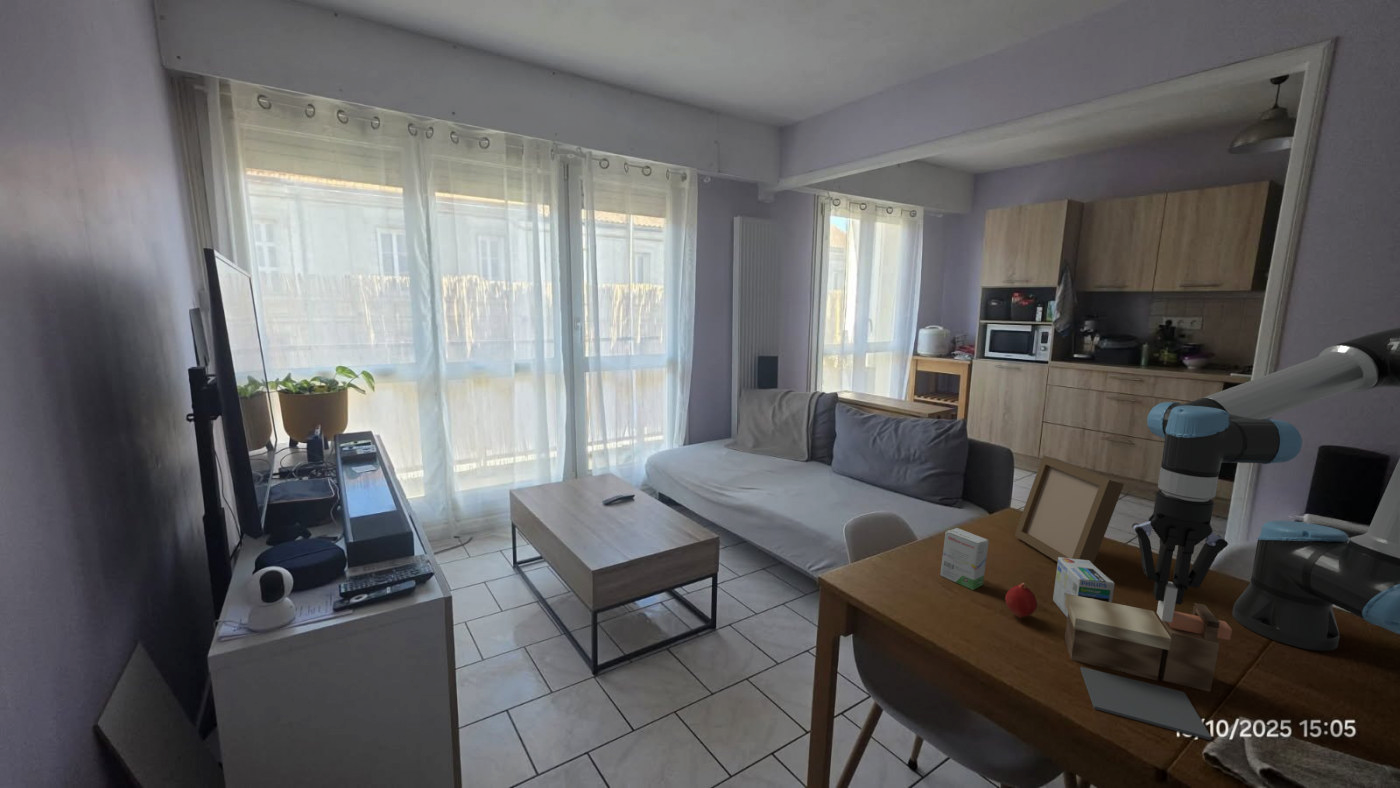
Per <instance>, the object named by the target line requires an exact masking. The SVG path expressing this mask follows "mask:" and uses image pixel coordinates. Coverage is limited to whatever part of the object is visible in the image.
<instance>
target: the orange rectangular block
mask: <svg viewBox="0 0 1400 788" xmlns="http://www.w3.org/2000/svg"><path fill="white" fill-rule="evenodd" d="M1217 620H1218V621H1219V622H1220V623H1219V628H1218V634H1217V639H1218V638H1219V639H1222V640H1227V641H1231V637H1232V633H1233V629H1232V628H1231V626H1230V625H1229V624H1228V623H1227V622H1226V621H1225V620H1221V619H1217ZM1168 624H1169V625H1170V627H1171V628H1174V629H1179V630H1183V631H1188V632H1193V633H1198V634H1203V628H1204V622H1203V620H1202V619H1201V618H1200V617H1199V616H1196V615H1192V614H1189V613H1185V612H1180V611H1175V610H1174V614H1173V620H1172V622H1168Z"/></svg>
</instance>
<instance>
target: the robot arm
mask: <svg viewBox="0 0 1400 788" xmlns="http://www.w3.org/2000/svg"><path fill="white" fill-rule="evenodd" d="M1385 387H1387V388H1389V387H1390V388H1400V326H1399V327H1394V328H1391V329H1390V328H1389V329H1385V330H1381V331H1377V332H1373V333H1370V334H1365V335H1362V336H1359V337H1355V338H1352V339H1349V340H1347V341H1342V342H1340V343H1338V344H1335V345H1331V346H1329V347H1326V348H1324V349H1323V350H1322V351H1320V353H1319V354H1318V356H1317V357H1313V358H1311V359H1308V360H1306V361H1303V362H1300V363H1297V364H1295V365H1291V366H1289V367H1286V368H1283V369H1280V370H1277V371H1275V372H1272V373H1269V374H1266V375H1263V376H1261V377H1257V378H1255V379H1252V380H1249V381H1247V382H1243V383H1240V384H1237V385H1236V386H1232V387H1228V388H1227V389H1224V390H1221V391H1217V392H1216V393H1213V394H1209V395H1207V396H1203V397H1201V398H1197V399H1195V400H1192V401H1189V402H1186V403H1181V402H1176V401H1174V402H1172V401H1163V402H1160V403H1158V404H1156V405H1155V406H1153V407H1152V409H1150V411H1149V413H1148V415H1147V419H1146V421H1147V422H1146V423H1147V427H1148V429H1149V431H1150V432H1151V433H1152V434H1153V435H1154V436H1157V437H1159V438H1161V439H1163V440H1164V442H1163V449H1162V450H1163V451H1162V457H1161V464H1160V465H1161V466H1160V470H1159V477H1158V481H1157V488H1158V489H1159V490H1158V491H1156V495H1155V500H1154V506H1153V507H1154V508H1153V513H1152V515H1151V516H1150V517H1149V518H1148V521H1145V522H1143V523H1137V522H1135V523H1132V525H1131V527H1132V529H1133V531H1134V532H1135V534H1136V535H1137V539H1138V546H1139V553H1140V557H1141V559H1140V560H1141V565H1142V571H1143V574H1144V575H1145V577H1146V578H1147V579H1148V580H1150V581H1154V585H1153V590H1152V591H1153V592H1152V595H1153V597H1154V598H1155V600H1156V601H1158V603H1157V608H1156V609H1157V610H1156V614H1157V617H1159V619H1161V620H1162V621H1167V622H1172V620H1173V614H1174V611H1175V607H1176V605H1182V604H1183V601H1184V595H1185V592H1186V591H1188V590H1189V588H1194V589H1198V588H1200V587H1201V585H1202V583H1203V582H1204V580H1205V578H1206V576H1207V574H1208V572H1209V570H1210V568H1211V567H1212V565H1213V564H1214V561H1215V560H1216V558H1217V556H1218V554H1219V553H1220V552H1222V551H1223V550H1224V549H1226V547H1228V545H1229V543H1228V541H1227V540H1225V539H1224V538H1223V537H1222V536H1221V535H1219V534H1216V533H1215V532H1213V527H1212V526H1211V520H1212V515H1213V510H1214V505H1215V502H1214V500H1212V499H1215V498H1216V495H1217V487H1218V483H1219V482H1218V481H1219V475H1220V471H1221V467H1222V463H1223V464H1225V463H1227V464H1229V463H1230V464H1233V463H1234V464H1235V463H1237V464H1261V465H1269V464H1280V463H1287V462H1289V461H1291V460H1294V459H1295V458H1296V457H1298V455H1299V453H1300V452H1301V450H1302V448H1303V447H1302V446H1303V438H1302V434H1301V432H1300V431H1299V430H1298V429H1297V427H1296V426H1294V425H1293V424H1291V423H1290V422H1287V421H1284V420H1280V419H1270V418H1271V417H1275V416H1278V415H1281V414H1283V413H1286V412H1289V411H1291V410H1295V409H1297V408H1300V407H1303V406H1307V405H1310V404H1313V403H1315V402H1318V401H1321V400H1323V399H1328V398H1330V397H1332V396H1336V395H1339V394H1342V393H1344V392H1348V393H1361V392H1364V391H1368V390H1370V389H1374V388H1385ZM1393 470H1394V471H1393V472H1392V475H1391V477H1390V478H1389V482H1388V484H1387V487H1386V488H1385V491H1384V493H1383V495H1382V497H1381V499H1380V501H1379V504H1378V506H1377V509H1376V511H1375V513H1374V516H1373V518H1372V520H1371V523H1370V525H1369V527H1368V529H1367V532H1365V533H1363V534H1359V535H1355V536H1352V537H1350V538H1349V535H1348V534H1347V533H1346V532H1345V531H1343V530H1340V529H1337V528H1334V527H1329V526H1326V525H1321V524H1315V523H1309V522H1300V521H1294V520H1293V521H1291V520H1270V521H1267V522H1265V523H1264V524H1262V526H1261V529H1260V532H1259V536H1258V537H1257V543H1256V548H1255V553H1254V561H1253V566H1252V571H1251V578H1250V582H1249V584H1248V586H1247V587H1246V588H1245V589H1244V591H1243V592H1242V593H1241V594H1240V596H1239V597H1238V598H1237V599H1236V601H1235V602H1234V603H1233V607H1232V612H1231V615H1232V617H1233V618H1234V620H1236V621H1237V622H1238V623H1239V624H1240V625H1242V626H1244V627H1245V628H1246V629H1248V630H1250V631H1252V632H1254V633H1256V634H1258V635H1260V636H1263V637H1265V638H1267V639H1270V640H1273V641H1275V642H1279V643H1282V644H1285V645H1288V646H1290V647H1291V646H1292V647H1296V648H1300V649H1304V650H1309V651H1318V652H1331V651H1334V650H1337V649H1338V646H1339V642H1340V632H1339V627H1338V624H1337V620H1336V616H1335V612H1334V608H1333V605H1334V606H1336V607H1338V608H1340V609H1341V610H1342V609H1343V610H1344V611H1346V612H1349V613H1350V614H1353V615H1355V616H1357V617H1359V618H1361V619H1363V620H1364V621H1366V622H1368V623H1369V624H1371V625H1374V626H1378V627H1381V628H1383V629H1386V630H1388V631H1390V632H1392V633H1395V634H1398V635H1400V458H1399V459H1398V462H1397V463H1396V466H1395V468H1394V469H1393ZM1152 529H1153V531H1154V532H1155V534H1156V535H1157V537H1158V538H1159V550H1158V555H1157V562H1156V567H1155V564H1154V558H1153V551H1152V545H1151V540H1150V538H1149V537H1150V536H1151V535H1152ZM1203 541H1205V543H1203V546H1202V547H1201V549H1200V551H1199V553H1198V554H1197V557H1196V559H1195V560H1194V561H1193V564H1192V566H1191V562H1192V556H1193V554H1194V552H1195V546H1197V545H1198V544H1199V543H1201V542H1203ZM1176 546H1177V552H1176V558H1175V563H1174V570H1173V577H1172V581H1173V582H1172V581H1169V579H1170V574H1171V569H1172V567H1171V566H1172V562H1173V561H1172V560H1173V555H1174V552H1175V550H1176Z"/></svg>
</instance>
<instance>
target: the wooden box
mask: <svg viewBox="0 0 1400 788" xmlns="http://www.w3.org/2000/svg"><path fill="white" fill-rule="evenodd" d="M1193 603H1194V604H1193V607H1192V608H1193V609H1192V614H1191V615H1196V616H1199V617H1200V618H1201V619H1202V620H1203V622H1204V628H1203V634H1198V633H1193V632H1188V631H1183V630H1179V629H1174V628H1171V627H1170V625H1169V624H1168V622H1167V621H1162V620H1161V619H1160V618H1158V619H1159V620H1160V622H1161V624H1162V625H1163V627H1164V628H1165V630H1166V631H1167V633H1168V634H1169V636H1170V637H1171V645H1170V650H1166V649H1162V648H1157V647H1153V646H1148V645H1144V644H1139V643H1135V642H1130V641H1126V640H1121V639H1117V638H1112V637H1108V636H1103V635H1099V634H1095V633H1090V632H1086V631H1081V630H1077V629H1074V627H1073V624H1072V622H1071V619H1070V616H1069V614H1068V617H1066V618H1067V619H1066V626H1065V633H1064V642H1065V645H1066V649H1067V651H1068V654H1069V657H1070V660H1071V661H1075V662H1080V663H1084V664H1088V665H1091V666H1096V667H1100V668H1103V669H1108V668H1109V669H1108V670H1113V671H1116V670H1117V672H1120V671H1121V673H1124V672H1125V674H1129V675H1134V676H1138V677H1142V678H1146V679H1150V680H1153V681H1158V678H1159V676H1160V677H1161V679H1162V681H1164V682H1168V683H1173V684H1176V685H1181V686H1185V687H1188V688H1193V689H1197V690H1202V691H1206V692H1211V691H1212V690H1211V689H1212V686H1213V685H1212V684H1213V679H1214V674H1215V669H1216V664H1217V660H1218V653H1219V650H1220V649H1219V648H1220V644H1221V643H1220V641H1219V640H1218V638H1217V634H1218V628H1219V623H1220V622H1219V621H1218V620H1219V619H1218V618H1217V617H1216V616H1215V615H1214V614H1213V613H1212V611H1211V610H1210V609H1209V608H1208V606H1206V605H1205V604H1204V603H1196V602H1193Z"/></svg>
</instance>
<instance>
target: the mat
mask: <svg viewBox="0 0 1400 788" xmlns="http://www.w3.org/2000/svg"><path fill="white" fill-rule="evenodd" d="M1080 671H1081V675H1082V679H1083V680H1084V684H1085V686H1086V690H1087V693H1088V696H1089V697H1090V701H1091V704H1092V708H1093V709H1095V710H1098V711H1101V712H1105V713H1108V714H1111V715H1114V716H1115V715H1116V716H1118V717H1119V716H1120V717H1123V718H1127V719H1130V720H1135V721H1139V722H1141V723H1145V724H1150V725H1153V726H1156V727H1159V728H1164V729H1168V730H1171V731H1175V732H1180V733H1183V734H1186V735H1190V736H1193V737H1197V738H1201V739H1204V740H1208V741H1212V738H1213V737H1212V735H1211V734H1210V732H1209V731H1208V729H1207V727H1206V726H1205V724H1204V722H1203V721H1202V719H1201V717H1200V715H1199V714H1198V713H1197V711H1196V709H1195V707H1194V706H1193V704H1192V702H1191V701H1190V699H1189V698H1188V695H1187V693H1185V691H1182V690H1181V691H1180V690H1177V689H1174V688H1170V687H1164V686H1161V685H1157V684H1153V683H1148V682H1144V681H1140V680H1137V679H1133V678H1128V677H1125V676H1120V675H1115V674H1112V673H1107V672H1104V671H1100V670H1096V669H1091V668H1087V667H1083V666H1080Z"/></svg>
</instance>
